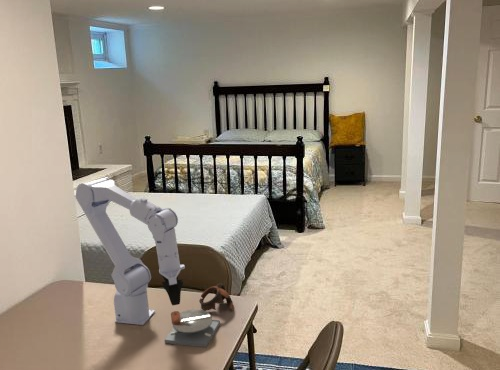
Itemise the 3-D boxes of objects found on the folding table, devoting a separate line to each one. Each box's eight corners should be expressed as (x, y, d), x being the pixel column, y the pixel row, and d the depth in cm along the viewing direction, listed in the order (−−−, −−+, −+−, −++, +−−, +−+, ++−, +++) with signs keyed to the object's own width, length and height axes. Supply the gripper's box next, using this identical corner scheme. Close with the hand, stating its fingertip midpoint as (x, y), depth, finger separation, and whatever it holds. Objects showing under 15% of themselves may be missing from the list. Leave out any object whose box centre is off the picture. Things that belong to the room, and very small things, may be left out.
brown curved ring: (235, 317, 136) (220, 299, 133) (208, 328, 138) (193, 310, 135) (237, 290, 146) (224, 272, 143) (213, 300, 149) (199, 283, 146)
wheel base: (164, 342, 124) (164, 338, 123) (181, 319, 135) (181, 315, 135) (206, 347, 121) (206, 343, 120) (220, 323, 132) (219, 319, 132)
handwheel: (166, 337, 124) (164, 319, 122) (182, 316, 134) (180, 299, 133) (204, 342, 121) (203, 322, 120) (217, 320, 131) (216, 302, 130)
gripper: (185, 259, 119) (192, 306, 122) (179, 242, 133) (185, 285, 136) (158, 264, 118) (165, 312, 120) (155, 247, 131) (162, 290, 134)
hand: (174, 298), depth 128 cm, fingers open, 7 cm apart
